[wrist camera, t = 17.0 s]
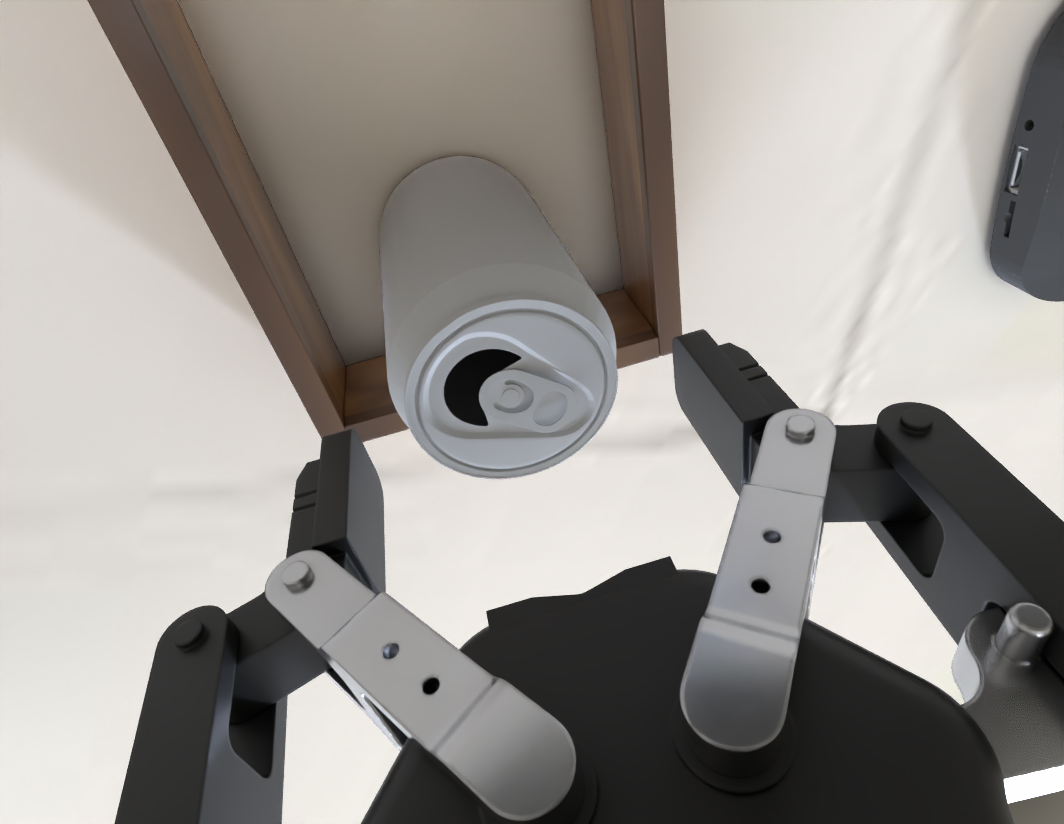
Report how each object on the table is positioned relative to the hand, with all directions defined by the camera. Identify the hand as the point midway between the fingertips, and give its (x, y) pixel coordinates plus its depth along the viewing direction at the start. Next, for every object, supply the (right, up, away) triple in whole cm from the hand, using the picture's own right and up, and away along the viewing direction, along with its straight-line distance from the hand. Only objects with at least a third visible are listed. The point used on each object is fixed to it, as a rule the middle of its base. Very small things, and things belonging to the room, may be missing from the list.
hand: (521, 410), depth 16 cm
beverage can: (-3, +7, +10) cm, 13 cm away
